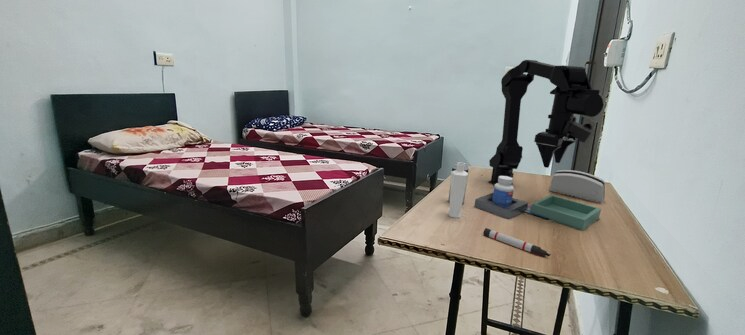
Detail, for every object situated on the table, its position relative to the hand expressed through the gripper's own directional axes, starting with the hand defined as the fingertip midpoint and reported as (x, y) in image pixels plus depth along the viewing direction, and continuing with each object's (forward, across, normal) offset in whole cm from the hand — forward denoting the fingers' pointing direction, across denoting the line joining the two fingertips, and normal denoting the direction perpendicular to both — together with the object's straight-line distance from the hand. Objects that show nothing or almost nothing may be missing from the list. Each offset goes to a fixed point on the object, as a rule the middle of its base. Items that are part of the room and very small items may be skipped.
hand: (552, 165), depth 102 cm
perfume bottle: (+14, -28, +14) cm, 34 cm away
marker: (+14, -32, -5) cm, 35 cm away
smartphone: (+14, -5, +3) cm, 15 cm away
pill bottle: (+14, -12, +8) cm, 20 cm away
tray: (+14, -1, -6) cm, 15 cm away
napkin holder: (+14, +22, -2) cm, 26 cm away
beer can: (+14, -18, +19) cm, 30 cm away
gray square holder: (+14, -12, +8) cm, 20 cm away
